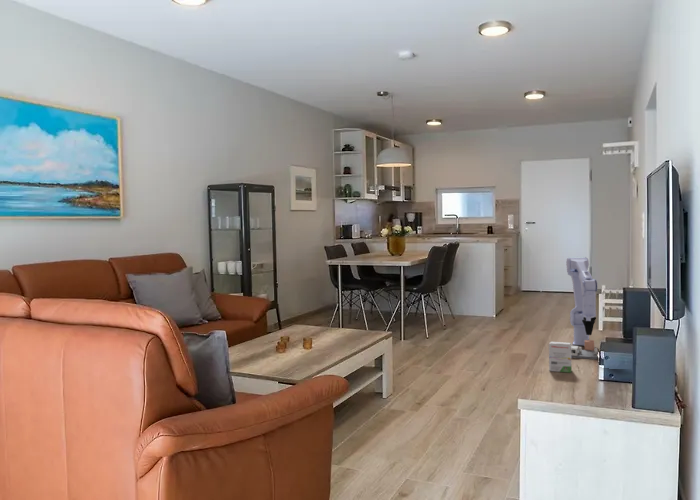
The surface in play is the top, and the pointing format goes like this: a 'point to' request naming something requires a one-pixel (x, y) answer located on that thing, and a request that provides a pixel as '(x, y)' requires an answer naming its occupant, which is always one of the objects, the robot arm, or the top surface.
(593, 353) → the deck
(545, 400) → the top surface
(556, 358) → the ink box
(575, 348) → the cover
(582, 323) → the robot arm
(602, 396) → the top surface
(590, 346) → the block
